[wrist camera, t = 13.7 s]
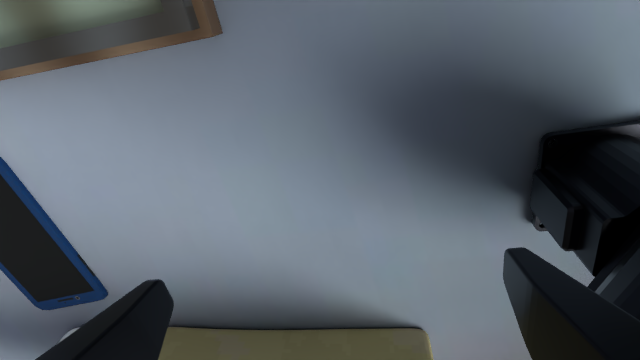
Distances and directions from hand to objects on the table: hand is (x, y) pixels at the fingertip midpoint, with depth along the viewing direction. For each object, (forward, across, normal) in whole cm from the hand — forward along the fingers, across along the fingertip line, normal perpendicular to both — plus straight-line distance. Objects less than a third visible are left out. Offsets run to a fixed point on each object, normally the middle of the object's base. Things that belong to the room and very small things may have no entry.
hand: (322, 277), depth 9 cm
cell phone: (+14, +26, +6) cm, 30 cm away
